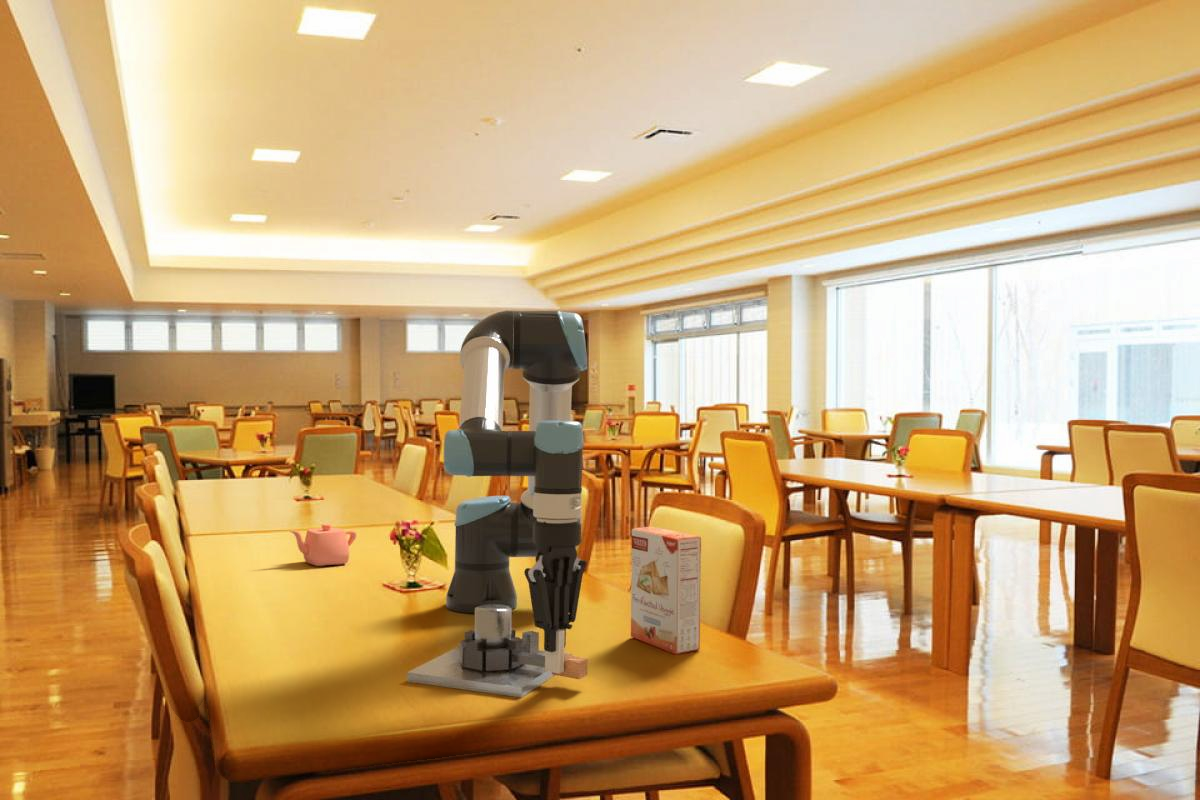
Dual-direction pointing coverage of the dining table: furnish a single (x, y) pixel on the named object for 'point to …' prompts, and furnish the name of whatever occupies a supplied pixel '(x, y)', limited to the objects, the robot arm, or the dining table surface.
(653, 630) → the cracker box
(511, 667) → the wrench
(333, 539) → the teapot
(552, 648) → the robot arm
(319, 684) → the dining table surface
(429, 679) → the flange plate
